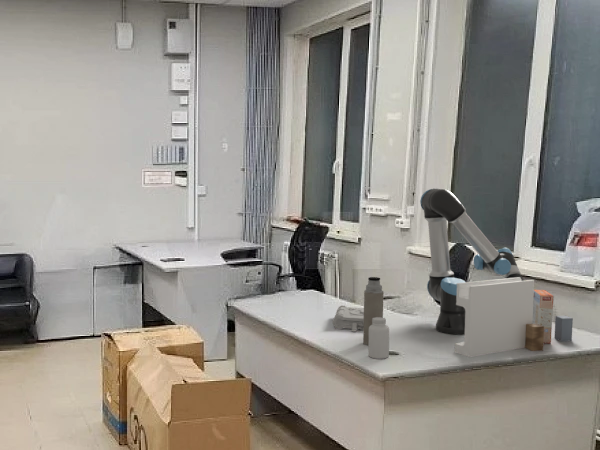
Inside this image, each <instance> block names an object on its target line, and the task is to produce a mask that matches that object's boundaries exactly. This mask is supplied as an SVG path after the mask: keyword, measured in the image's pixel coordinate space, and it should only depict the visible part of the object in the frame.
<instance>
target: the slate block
mask: <svg viewBox="0 0 600 450" xmlns="http://www.w3.org/2000/svg"><path fill="white" fill-rule="evenodd" d="M554 319H555V320H554V339H555V340H557V341H560V342H572V341H573V339H572V338H573V323H574V322H573V317H570V316H567V315H555V317H554Z"/></svg>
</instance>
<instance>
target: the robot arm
mask: <svg viewBox="0 0 600 450" xmlns="http://www.w3.org/2000/svg"><path fill="white" fill-rule="evenodd" d="M419 202H420V207H421V209H422V210H423V213H424V216H423V217H424V220H426V221H427V223H428V236H429V237H428V238H429V249H430V250H429V251H430V263H431V271H430V273H429V274H428V276H429V277H428V279H429V280H428V281H427V284H426V288H427V289H426V290H427V292H428V294H429V296H431V298H432V299H434V300H436V301H438V302H440V307H439V308H440V309H439V314H438V318H437V320H436V323H435V330H436V331H438V332H439V333H444V334H450V335H465V308H464V307H462V306H459V305H456V302H457V301H456V296H457V283H465V282H466V281H465V280H464V279H461V278H457V277H455V273H454V271H452V269H451V261H450V260H451V259H450V249H449V236H448V235H449V234H448V223H452V225H453V226H454V227H455V229H456V230H457V231H458V232H459V233H460V234H461V236H462V237H464V239H465V240H466V241H467V242H468V244H470V246H471V247H472V248H473V250H475V252H476V253H477V254H476V255H474V257H473V266H474V268H475V270H478V271H484V270H485V271H489V272H492V273H493V274H494V273H495V274H496V275H501V276H503V277H504V279H506V278H516V277H520V278H521V279H522V281H524V278H523V276H522V274H521V271H520V269H519V267H518V265H517V261H516V259H515V257H514V253H512V250H511V249H509V248H508V247H503V248H499V249H496V247H495V246H494V245H493V243H491V241H490V240H489V239H488V238H487V236H485V233H483V232H482V230H481V229H480V228H479V227H478V226H477V225H476V223H475V222H474V220H472V218H471V217H470V216H469V215H468V214H467V212H466V211H467V210H466V207H465V206H464V205H463V204H462V203H461V201H460V200H459V199H458V198H457V197H456V196H455V194H454V193H452V192H451V191H450V190H448V189H442V188H431V189H427V190H426V191H424V192H423V194H422V195H421V196H420V201H419Z"/></svg>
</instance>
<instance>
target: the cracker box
mask: <svg viewBox="0 0 600 450" xmlns="http://www.w3.org/2000/svg"><path fill="white" fill-rule="evenodd" d="M553 309H554V295H553V294H552V293H550V292H548V291H547V290H545V289H534V297H533V319H532V324H539V325H542V326H544V340H543V344H549V345H550V344H551V343H552V330H553V329H552V328H553V313H554V311H553Z"/></svg>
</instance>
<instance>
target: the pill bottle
mask: <svg viewBox="0 0 600 450" xmlns="http://www.w3.org/2000/svg"><path fill="white" fill-rule="evenodd" d="M372 324H373V325H371V326H370V327H369V346H368V348H367V349H368V353H367V354H368V357H369V358H372V359H376V360H383V359H384V360H385V359H387V358H389V356H390V327H389V326H388V325H387V319H386V318H385V317H383V318H382V317H375V318H372Z"/></svg>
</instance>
